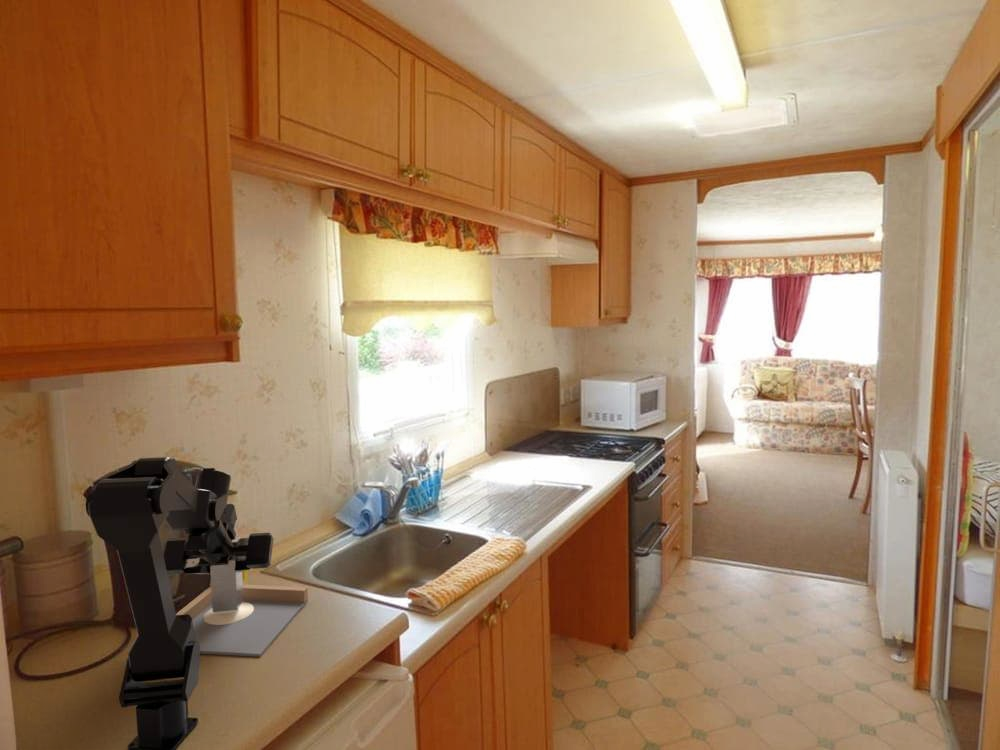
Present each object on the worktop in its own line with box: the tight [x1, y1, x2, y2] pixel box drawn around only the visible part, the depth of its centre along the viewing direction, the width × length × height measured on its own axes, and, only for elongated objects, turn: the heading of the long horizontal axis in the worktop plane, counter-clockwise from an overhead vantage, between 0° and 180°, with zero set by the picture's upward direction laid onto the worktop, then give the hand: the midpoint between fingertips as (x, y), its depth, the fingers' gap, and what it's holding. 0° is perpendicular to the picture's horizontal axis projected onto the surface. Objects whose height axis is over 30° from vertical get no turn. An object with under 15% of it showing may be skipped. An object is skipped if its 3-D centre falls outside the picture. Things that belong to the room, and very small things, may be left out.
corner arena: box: [176, 584, 309, 658], centre depth 115 cm, size 20×20×3 cm
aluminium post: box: [210, 535, 243, 612], centre depth 118 cm, size 4×4×13 cm
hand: (228, 570), depth 119 cm, fingers closed on aluminium post, 4 cm apart
